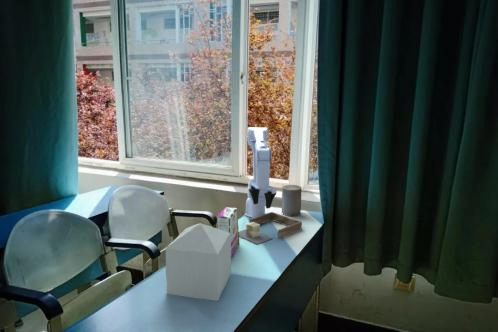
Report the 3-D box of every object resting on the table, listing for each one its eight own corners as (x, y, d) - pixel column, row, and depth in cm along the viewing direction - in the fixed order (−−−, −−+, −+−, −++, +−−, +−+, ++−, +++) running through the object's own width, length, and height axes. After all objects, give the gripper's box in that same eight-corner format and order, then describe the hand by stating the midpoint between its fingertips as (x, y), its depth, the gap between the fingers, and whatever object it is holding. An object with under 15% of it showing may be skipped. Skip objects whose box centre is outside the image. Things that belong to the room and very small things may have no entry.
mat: (233, 234, 148) (233, 233, 148) (248, 229, 154) (248, 228, 154) (257, 244, 138) (257, 243, 138) (272, 238, 145) (272, 237, 145)
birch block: (246, 235, 146) (246, 224, 145) (252, 232, 149) (253, 221, 148) (252, 238, 144) (253, 226, 143) (259, 235, 146) (259, 224, 145)
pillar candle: (301, 211, 180) (302, 183, 177) (299, 217, 171) (300, 187, 168) (282, 209, 182) (283, 181, 179) (279, 215, 173) (280, 186, 170)
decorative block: (231, 273, 116) (231, 216, 112) (218, 301, 100) (218, 235, 96) (185, 268, 118) (184, 212, 115) (165, 294, 103) (163, 230, 99)
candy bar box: (224, 246, 136) (225, 206, 133) (237, 248, 135) (237, 207, 132) (216, 259, 125) (216, 216, 122) (230, 261, 124) (230, 217, 121)
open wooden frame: (249, 226, 158) (249, 219, 157) (271, 218, 168) (271, 211, 167) (279, 238, 145) (280, 230, 144) (301, 229, 155) (302, 221, 155)
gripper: (244, 174, 153) (243, 203, 156) (269, 180, 143) (268, 211, 146) (255, 172, 158) (255, 200, 161) (280, 177, 148) (279, 208, 151)
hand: (261, 205), depth 154 cm, fingers open, 7 cm apart
